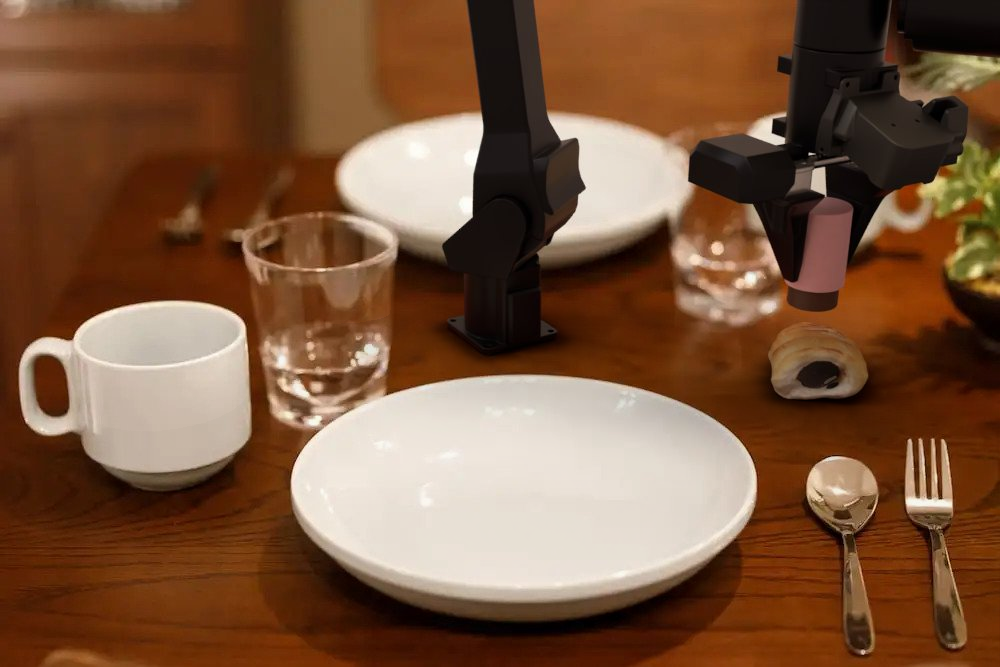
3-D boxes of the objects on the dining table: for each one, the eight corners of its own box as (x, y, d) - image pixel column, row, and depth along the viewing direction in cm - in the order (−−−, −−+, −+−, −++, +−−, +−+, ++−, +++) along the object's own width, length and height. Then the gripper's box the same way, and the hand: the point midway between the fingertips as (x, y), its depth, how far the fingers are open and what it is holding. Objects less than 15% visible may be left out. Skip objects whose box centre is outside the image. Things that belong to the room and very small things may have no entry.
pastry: (762, 345, 98) (767, 298, 97) (854, 350, 98) (860, 303, 96) (770, 401, 90) (775, 350, 88) (870, 407, 89) (877, 356, 88)
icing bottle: (769, 298, 90) (779, 201, 87) (814, 287, 92) (824, 192, 89) (809, 318, 87) (820, 218, 84) (854, 306, 89) (866, 208, 86)
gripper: (814, 87, 72) (788, 346, 78) (1045, 52, 80) (1004, 288, 86) (690, 50, 80) (675, 285, 87) (910, 22, 89) (882, 238, 95)
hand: (814, 275), depth 89 cm, fingers closed on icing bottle, 4 cm apart
